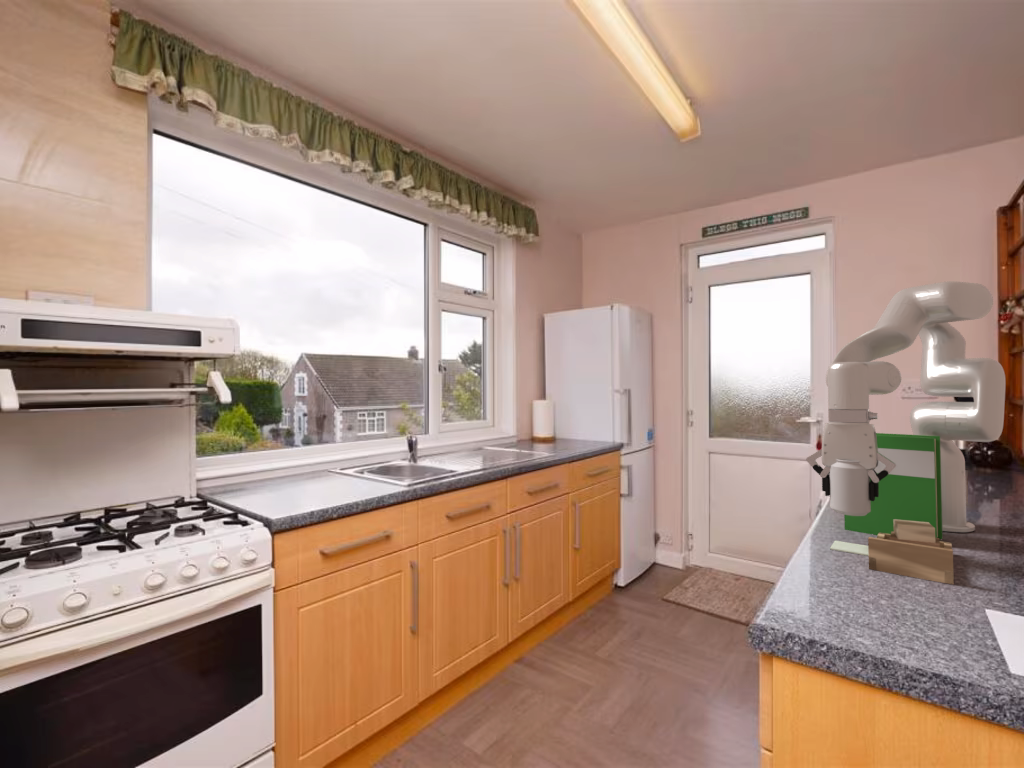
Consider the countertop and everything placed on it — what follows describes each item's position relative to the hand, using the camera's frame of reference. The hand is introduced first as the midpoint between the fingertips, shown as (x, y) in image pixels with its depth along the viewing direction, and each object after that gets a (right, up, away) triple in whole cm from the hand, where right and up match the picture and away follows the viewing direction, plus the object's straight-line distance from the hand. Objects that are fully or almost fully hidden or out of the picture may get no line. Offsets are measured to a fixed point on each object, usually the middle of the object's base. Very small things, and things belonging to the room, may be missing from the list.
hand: (849, 497), depth 109 cm
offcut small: (+10, -7, -5) cm, 14 cm away
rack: (+7, -11, -8) cm, 16 cm away
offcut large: (+10, -11, -5) cm, 16 cm away
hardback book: (+17, -12, +10) cm, 23 cm away
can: (0, -4, 0) cm, 4 cm away
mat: (0, -11, 0) cm, 11 cm away
